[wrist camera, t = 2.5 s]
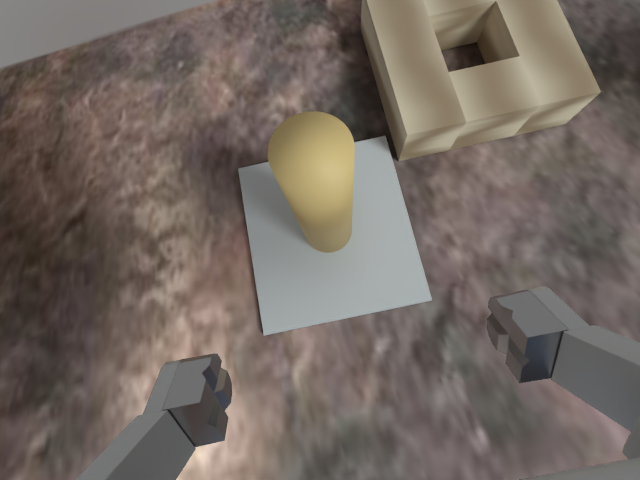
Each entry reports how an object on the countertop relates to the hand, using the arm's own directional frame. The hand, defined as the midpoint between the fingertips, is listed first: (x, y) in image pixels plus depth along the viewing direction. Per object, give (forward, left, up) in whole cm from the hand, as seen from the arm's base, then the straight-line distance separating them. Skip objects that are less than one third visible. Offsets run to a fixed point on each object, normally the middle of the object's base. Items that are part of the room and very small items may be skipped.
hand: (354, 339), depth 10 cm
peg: (0, +7, -12) cm, 13 cm away
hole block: (+12, +17, -12) cm, 24 cm away
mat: (0, +7, -12) cm, 14 cm away
